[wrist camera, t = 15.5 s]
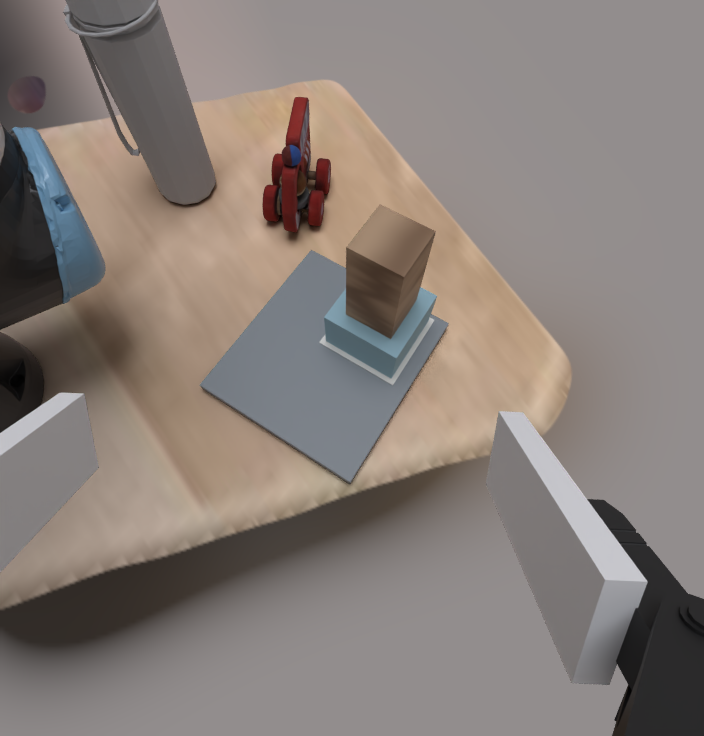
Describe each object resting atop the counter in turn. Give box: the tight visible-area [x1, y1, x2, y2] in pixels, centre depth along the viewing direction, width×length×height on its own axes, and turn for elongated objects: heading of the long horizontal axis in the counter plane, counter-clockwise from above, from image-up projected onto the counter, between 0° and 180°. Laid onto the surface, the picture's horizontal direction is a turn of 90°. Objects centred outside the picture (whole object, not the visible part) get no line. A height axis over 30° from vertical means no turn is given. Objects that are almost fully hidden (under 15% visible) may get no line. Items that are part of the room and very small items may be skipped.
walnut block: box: [346, 205, 436, 339], centre depth 39 cm, size 5×5×10 cm
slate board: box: [200, 250, 449, 484], centre depth 48 cm, size 18×20×1 cm
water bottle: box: [63, 0, 216, 205], centre depth 46 cm, size 9×8×25 cm
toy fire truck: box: [263, 97, 331, 232], centre depth 52 cm, size 7×12×10 cm, turn 173°
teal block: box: [324, 287, 437, 378], centre depth 46 cm, size 8×8×5 cm
